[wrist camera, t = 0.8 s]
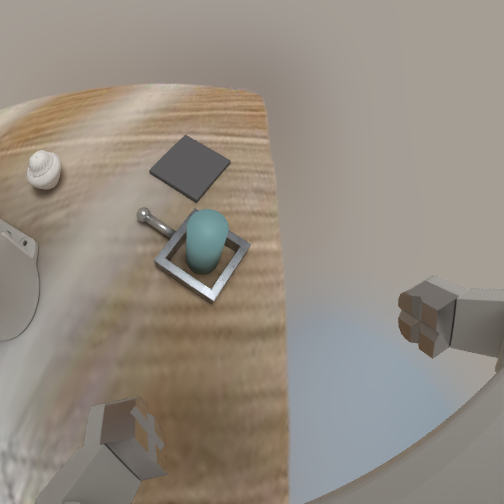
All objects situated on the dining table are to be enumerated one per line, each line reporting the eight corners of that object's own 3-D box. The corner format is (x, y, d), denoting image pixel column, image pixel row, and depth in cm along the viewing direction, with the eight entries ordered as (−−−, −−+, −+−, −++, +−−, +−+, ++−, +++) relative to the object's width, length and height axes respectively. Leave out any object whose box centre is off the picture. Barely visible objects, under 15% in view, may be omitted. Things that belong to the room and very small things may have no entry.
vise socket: (119, 239, 39) (116, 232, 37) (158, 193, 43) (157, 184, 40) (212, 304, 39) (213, 300, 37) (247, 250, 42) (251, 244, 40)
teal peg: (179, 262, 40) (178, 232, 31) (198, 237, 42) (202, 202, 32) (206, 280, 40) (213, 255, 31) (224, 254, 42) (236, 223, 32)
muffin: (53, 160, 41) (40, 133, 34) (74, 176, 41) (61, 149, 34) (28, 186, 38) (12, 162, 32) (48, 204, 38) (31, 180, 32)
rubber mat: (149, 173, 43) (149, 170, 43) (185, 137, 47) (185, 134, 46) (196, 203, 43) (196, 200, 43) (229, 163, 47) (230, 160, 46)
